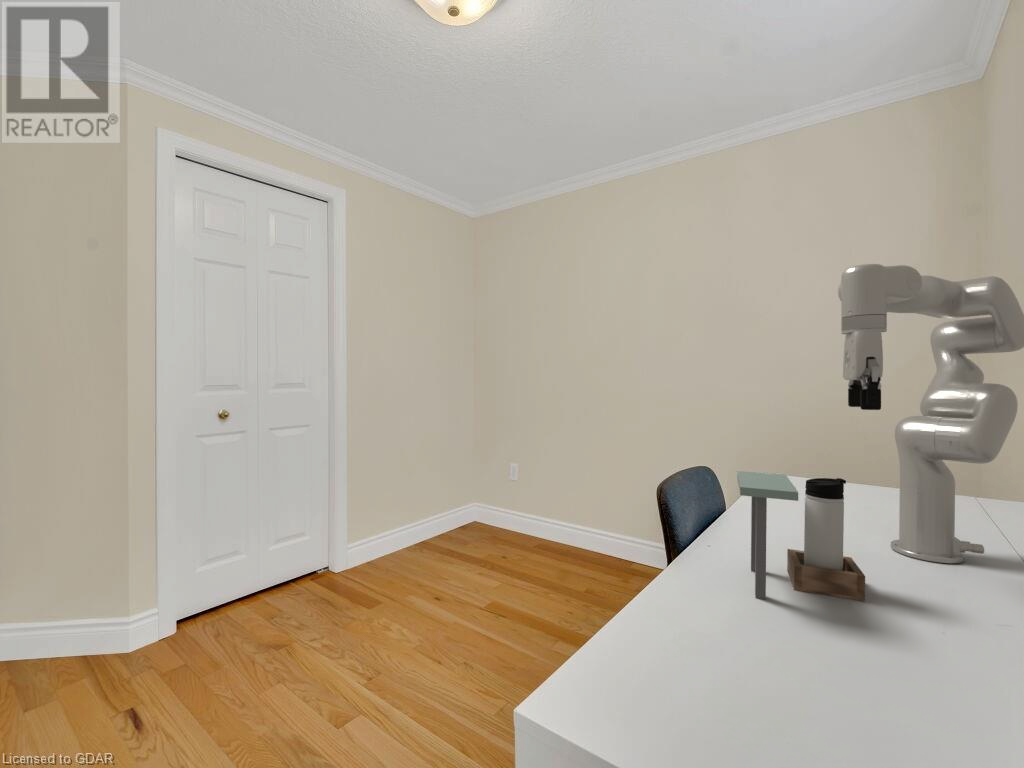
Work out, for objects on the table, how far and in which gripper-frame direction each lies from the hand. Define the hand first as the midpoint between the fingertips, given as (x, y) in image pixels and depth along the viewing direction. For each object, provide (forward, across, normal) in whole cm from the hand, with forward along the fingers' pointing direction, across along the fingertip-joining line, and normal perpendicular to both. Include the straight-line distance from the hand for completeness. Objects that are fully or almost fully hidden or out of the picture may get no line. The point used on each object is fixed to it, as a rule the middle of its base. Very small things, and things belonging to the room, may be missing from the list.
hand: (863, 408), depth 97 cm
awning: (+33, +17, -21) cm, 43 cm away
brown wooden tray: (+34, +12, -9) cm, 37 cm away
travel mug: (+33, +12, -9) cm, 36 cm away
